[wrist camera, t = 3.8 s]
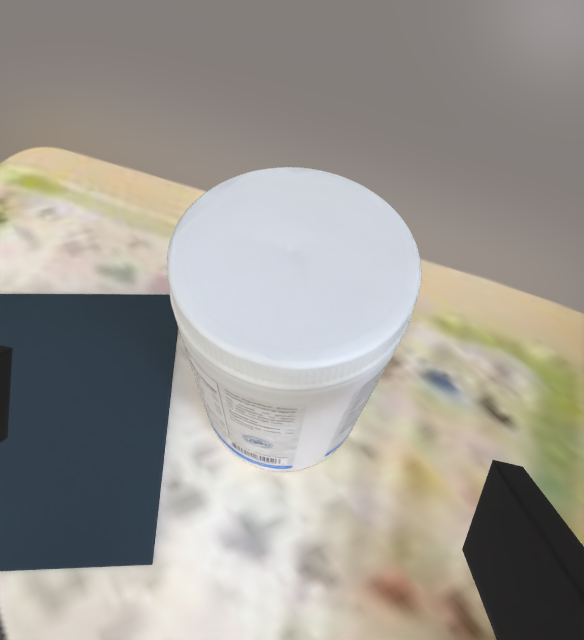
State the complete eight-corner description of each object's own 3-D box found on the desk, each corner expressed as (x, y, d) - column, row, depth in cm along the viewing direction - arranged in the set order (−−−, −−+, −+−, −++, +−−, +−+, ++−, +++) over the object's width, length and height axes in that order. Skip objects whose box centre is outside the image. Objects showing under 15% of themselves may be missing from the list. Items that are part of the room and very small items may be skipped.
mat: (181, 296, 32) (180, 294, 32) (152, 564, 23) (151, 564, 23) (-23, 296, 31) (-25, 293, 31) (-135, 577, 22) (-140, 576, 22)
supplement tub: (316, 317, 32) (355, 140, 19) (382, 438, 27) (487, 309, 15) (185, 363, 29) (131, 193, 17) (235, 504, 25) (212, 415, 12)
